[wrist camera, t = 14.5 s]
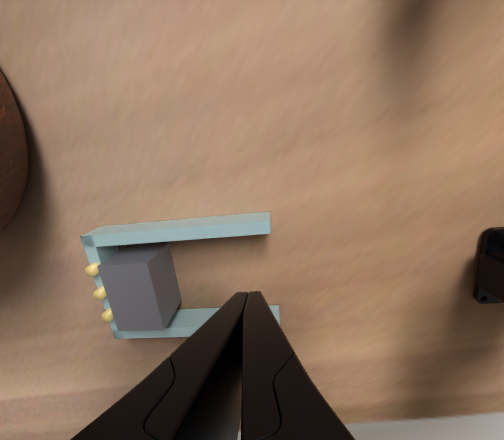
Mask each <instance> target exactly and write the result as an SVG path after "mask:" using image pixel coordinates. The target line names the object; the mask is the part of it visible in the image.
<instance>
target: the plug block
mask: <svg viewBox="0 0 504 440" xmlns="http://www.w3.org/2000/svg"><path fill="white" fill-rule="evenodd" d="M97 267H98V271H99V274H100V277H101V280H102V283H103V286H104V289H105V292H106V295H107V299H108V302H109V305H110V308H111V311H112V314H113V317H114V320H115V324H116V327H117V330H118V331H152V330H165V328H166V326H167V324H168V323H169V321H170V319H171V318H172V316H173V314H174V313H175V311H176V309H177V308H178V306H179V304H180V302H181V297H180V292H179V287H178V283H177V278H176V274H175V269H174V265H173V260H172V256H171V251H170V247H169V243H161V244H146V245H132V246H126V247H124V248H123V249H121V250H120V251H118V252H117V253H116V254H114V255H113V256H111V257H110V258H108V259H107V260H105V261H104V262H102V263H101V264H99V265H98V266H97Z"/></svg>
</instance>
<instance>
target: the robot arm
mask: <svg viewBox="0 0 504 440" xmlns="http://www.w3.org/2000/svg"><path fill="white" fill-rule="evenodd" d="M494 233H495V234H494ZM493 234H494V236H492V235H493ZM482 296H483V297H482ZM481 297H482V298H481ZM473 298H474V299H475V300H476V301H477V302H479V303H482V304H486V303H504V227H496V228H489V229H488V230H486V231H485V233H484V237H483V243H482V249H481V254H480V260H479V266H478V272H477V278H476V283H475V289H474V295H473ZM240 419H241V440H355V439H354V437H353V436H352V435H351V433H350V432H349V431H348V430H347V428H346V427H345V425H344V424H343V423H342V421H341V420H340V419H339V417H338V416H337V415H336V413H335V412H334V411H333V410H332V408H331V407H330V406H329V404H328V403H327V402H326V400H325V399H324V397H323V396H322V395H321V393H320V392H319V390H318V389H317V388H316V386H315V385H314V383H313V382H312V380H311V379H310V377H309V376H308V374H307V372H306V371H305V369H304V367H303V366H302V364H301V362H300V360H299V359H298V357H297V355H296V354H295V352H294V350H293V348H292V346H291V345H290V343H289V341H288V339H287V338H286V336H285V334H284V332H283V330H282V329H281V327H280V325H279V323H278V322H277V320H276V318H275V316H274V314H273V313H272V311H271V309H270V307H269V306H268V304H267V302H266V300H265V298H264V297H263V295H262V293H261V292H260V291H254V292H249V293H248V292H237V293H235V294H234V295H233V296H232V297H231V298H230V299H229V300H228V301H227V302H226V303H225V304H224V305H223V306H222V307H221V308H220V309H219V310H217V311H216V312H215V313H214V314H213V315H212V316H211V317H210V318H209V319H208V320H207V321H206V322H205V323H204V324H203V325H202V326H201V327H199V328H198V329H197V330H196V331H195V332H194V333H193V334H192V335H191V336H190V337H189V338H188V339H187V340H186V341H185V342H184V343H182V344H181V345H180V346H179V347H178V348H177V349H176V350H175V351H174V352H173V353H172V354H171V355H170V358H169V357H168V358H166V359H165V360H164V361H163V362H162V363H161V364H160V365H159V366H158V367H157V368H156V369H155V370H154V371H152V372H151V373H150V374H149V375H148V376H147V377H146V378H145V379H144V380H142V381H141V382H140V383H139V384H138V385H137V386H135V387H134V388H133V389H132V390H131V391H129V392H128V393H127V394H126V395H125V396H123V397H122V398H121V399H120V400H119V401H117V402H116V403H115V404H114V405H112V406H111V407H110V408H109V409H108V410H106V411H105V412H104V413H103V414H101V415H100V416H99V417H98V418H96V419H95V420H94V421H93V422H91V423H90V424H89V425H88V426H87V427H85V428H84V429H83V430H82V431H80V432H79V433H78V434H77V435H75V436H74V437H73V438H72V439H70V440H237V437H238V431H239V425H240Z"/></svg>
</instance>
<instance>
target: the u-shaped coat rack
mask: <svg viewBox="0 0 504 440" xmlns="http://www.w3.org/2000/svg"><path fill="white" fill-rule="evenodd" d="M258 234H271V216H270V212H258V213H247V214H235V215H224V216H212V217H201V218H189V219H178V220H166V221H155V222H143V223H132V224H120V225H109V226H101V227H99V228H97V229H94V230H92V231H90V232H88V233H86V234H84V235H82V236H80V237H81V240H82V243H83V246H84V249H85V252H86V255H87V258H88V261H89V264H90V265H89V266H88V267H86V268H85V273H86V274H87V275H88V276H90V277H93V276H94V279H95V281H96V284H97V287H98V289H97V290H96V291H95V292H94V293H93V296H94V298H95V299H97V300H102V302H103V305H104V308H105V312H104V313H103V314H102V315H101V319H102V320H103V321H104V322H106V323H108V322H109V323H110V326H111V329H112V332H113V335H114V338H115V339H128V338H162V337H190V336H191V335H192V334H193V333H194V332H195V331H196V330H197V329H198V328H199V327H201V326H202V325H203V324H204V323H205V322H206V321H207V320H208V319H209V318H210V317H211V316H212V315H213V314H214V313H215V312H216V311H217V310H219V309H220V308H199V309H176V311H175V313H174V314H173V316H172V318H171V319H170V321H169V323H168V324H167V326H166V328H165V330H152V331H118V330H117V327H116V324H115V320H114V317H113V314H112V311H111V308H110V305H109V302H108V299H107V295H106V292H105V289H104V286H103V283H102V280H101V277H100V274H99V271H98V267H97V266H98V265H99V264H101V263H102V262H104V261H105V260H107V259H108V258H110V257H111V256H113V255H114V254H116V253H117V252H118V251H119V247H118V245H127V244H141V243H154V242H167V241H180V240H193V239H206V238H219V237H232V236H245V235H258ZM269 307H270V309H271V311H272V313H273V314H274V316H275V318H276V320H277V322H278V323H279V325H280V311H279V305H270V306H269Z"/></svg>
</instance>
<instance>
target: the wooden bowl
mask: <svg viewBox="0 0 504 440" xmlns="http://www.w3.org/2000/svg"><path fill="white" fill-rule="evenodd" d="M27 177H28V146H27V139H26V133H25V129H24V125H23V121H22V118H21V115H20V112H19V109H18V106H17V104H16V101H15V99H14V96H13V94H12V92H11V90H10V88H9V86H8V84H7V82H6V80H5V78H4V76H3V74H2V73H1V71H0V231H1V230H2V229H3V228H4V227H5V226H6V225H7V223H8V222H9V220H10V219H11V218H12V216H13V215H14V214H15V212H16V210H17V209H18V207H19V205H20V203H21V200H22V198H23V195H24V192H25V188H26V184H27Z"/></svg>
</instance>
